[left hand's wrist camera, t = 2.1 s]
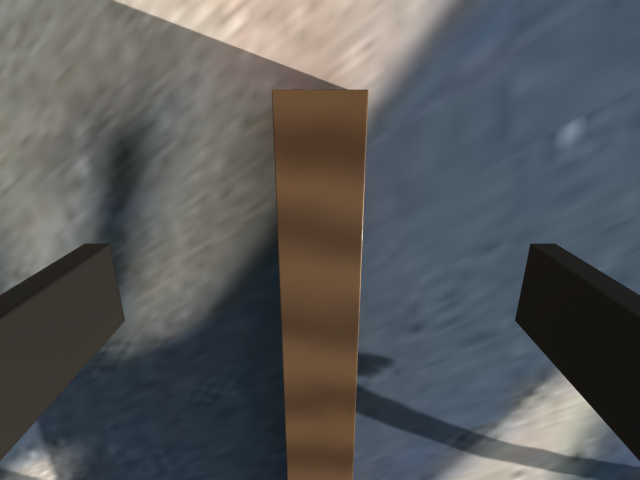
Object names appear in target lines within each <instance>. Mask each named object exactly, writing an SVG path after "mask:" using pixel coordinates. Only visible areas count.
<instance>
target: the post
mask: <svg viewBox="0 0 640 480" xmlns="http://www.w3.org/2000/svg"><path fill="white" fill-rule="evenodd" d="M272 103H273V128H274V153H275V178H276V203H277V229H278V254H279V279H280V304H281V329H282V354H283V379H284V404H285V429H286V454H287V479H288V480H353V460H354V435H355V410H356V385H357V361H358V336H359V311H360V286H361V261H362V236H363V211H364V186H365V161H366V136H367V112H368V90H272Z"/></svg>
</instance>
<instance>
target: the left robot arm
mask: <svg viewBox="0 0 640 480" xmlns="http://www.w3.org/2000/svg"><path fill="white" fill-rule="evenodd" d="M124 321H125V319H124V314H123V309H122V304H121V299H120V294H119V289H118V284H117V279H116V274H115V269H114V264H113V259H112V254H111V249H110V244H84V245H82V246H80V247H79V248H77V249H75V250H74V251H72V252H71V253H69V254H67V255H66V256H64V257H62V258H61V259H59V260H57V261H56V262H54V263H52V264H51V265H49V266H48V267H46V268H44V269H43V270H41V271H39V272H38V273H36V274H34V275H33V276H31V277H29V278H28V279H26V280H25V281H23V282H21V283H20V284H18V285H16V286H15V287H13V288H11V289H10V290H8V291H7V292H5V293H3V294H2V295H0V461H1V460H2V458H3V457H4V456H5V455H6V454H7V453H8V452H9V451H10V449H11V448H12V447H13V446H14V445H15V444H16V443H17V442H18V440H19V439H20V438H21V437H22V436H23V435H24V434H25V433H26V431H27V430H28V429H29V428H30V427H31V426H32V425H33V424H34V422H35V421H36V420H37V419H38V418H39V417H40V416H41V414H42V413H43V412H44V411H45V410H46V409H47V408H48V407H49V405H50V404H51V403H52V402H53V401H54V400H55V399H56V398H57V396H58V395H59V394H60V393H61V392H62V391H63V390H64V389H65V387H66V386H67V385H68V384H69V383H70V382H71V381H72V380H73V378H74V377H75V376H76V375H77V374H78V373H79V372H80V371H81V369H82V368H83V367H84V366H85V365H86V364H87V363H88V361H89V360H90V359H91V358H92V357H93V356H94V355H95V354H96V352H97V351H98V350H99V349H100V348H101V347H102V346H103V345H104V343H105V342H106V341H107V340H108V339H109V338H110V337H111V336H112V334H113V333H114V332H115V331H116V330H117V329H118V328H119V327H120V325H121V324H122V323H123V322H124ZM515 321H516V322H517V323H518V324H519V325H520V327H521V328H522V329H523V330H524V331H525V332H526V333H527V334H528V336H529V337H530V338H531V339H532V340H533V341H534V342H535V343H536V345H537V346H538V347H539V348H540V349H541V350H542V351H543V352H544V354H545V355H546V356H547V357H548V358H549V359H550V360H551V361H552V363H553V364H554V365H555V366H556V367H557V368H558V369H559V371H560V372H561V373H562V374H563V375H564V376H565V377H566V378H567V380H568V381H569V382H570V383H571V384H572V385H573V386H574V387H575V389H576V390H577V391H578V392H579V393H580V394H581V395H582V396H583V398H584V399H585V400H586V401H587V402H588V403H589V404H590V405H591V407H592V408H593V409H594V410H595V411H596V412H597V413H598V414H599V416H600V417H601V418H602V419H603V420H604V421H605V422H606V424H607V425H608V426H609V427H610V428H611V429H612V430H613V431H614V433H615V434H616V435H617V436H618V437H619V438H620V439H621V440H622V442H623V443H624V444H625V445H626V446H627V447H628V448H629V449H630V451H631V452H632V453H633V454H634V455H635V456H636V457H637V458H638V460H639V461H640V295H638V294H637V293H635V292H633V291H632V290H630V289H629V288H627V287H625V286H624V285H622V284H620V283H619V282H617V281H615V280H614V279H612V278H611V277H609V276H607V275H606V274H604V273H602V272H601V271H599V270H597V269H596V268H594V267H592V266H591V265H589V264H588V263H586V262H584V261H583V260H581V259H579V258H578V257H576V256H574V255H573V254H571V253H569V252H568V251H566V250H565V249H563V248H561V247H560V246H558V245H556V244H530V249H529V254H528V259H527V264H526V269H525V274H524V279H523V284H522V289H521V294H520V299H519V304H518V309H517V314H516V319H515Z"/></svg>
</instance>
